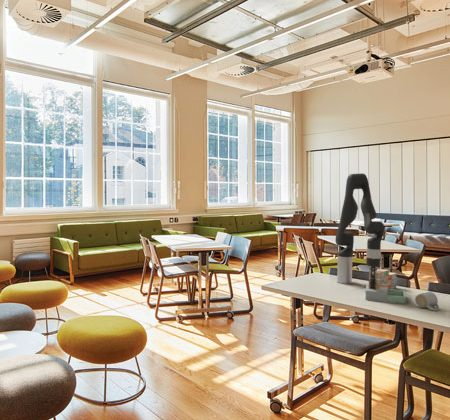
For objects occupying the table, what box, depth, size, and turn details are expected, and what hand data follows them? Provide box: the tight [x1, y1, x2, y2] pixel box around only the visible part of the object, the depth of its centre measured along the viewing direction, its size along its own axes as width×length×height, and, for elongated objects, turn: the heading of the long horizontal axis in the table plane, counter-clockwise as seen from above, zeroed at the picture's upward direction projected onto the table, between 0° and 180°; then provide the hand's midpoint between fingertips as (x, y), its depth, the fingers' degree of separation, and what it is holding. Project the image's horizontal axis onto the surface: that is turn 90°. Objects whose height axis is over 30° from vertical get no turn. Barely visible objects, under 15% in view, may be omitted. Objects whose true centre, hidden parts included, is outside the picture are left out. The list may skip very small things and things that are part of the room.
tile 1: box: [379, 287, 387, 292], centre depth 219 cm, size 4×4×2 cm
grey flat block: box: [365, 284, 388, 303], centre depth 224 cm, size 16×11×5 cm
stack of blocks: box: [368, 268, 397, 290], centre depth 243 cm, size 21×6×12 cm, turn 129°
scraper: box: [368, 277, 379, 291], centre depth 225 cm, size 16×6×5 cm, turn 159°
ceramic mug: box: [414, 291, 440, 312], centre depth 204 cm, size 11×8×8 cm
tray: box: [387, 289, 408, 305], centre depth 220 cm, size 17×10×4 cm, turn 159°
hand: (372, 287), depth 225 cm, fingers closed on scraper, 4 cm apart
